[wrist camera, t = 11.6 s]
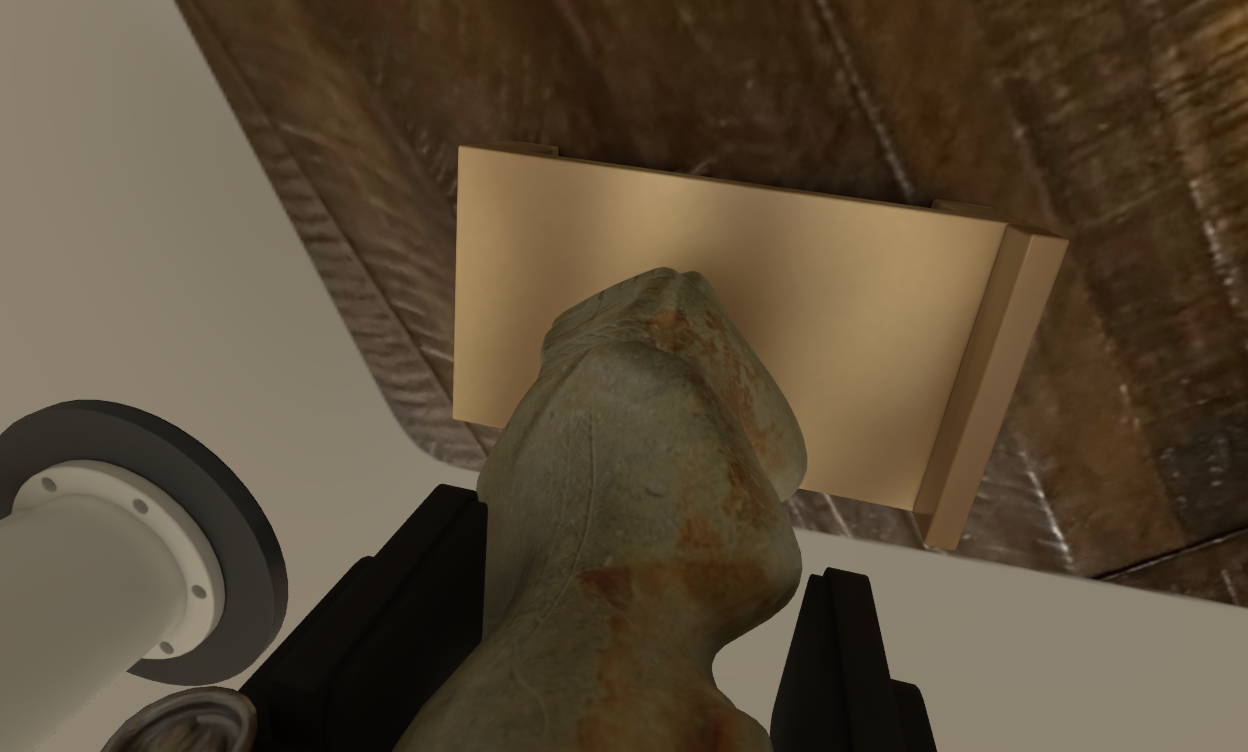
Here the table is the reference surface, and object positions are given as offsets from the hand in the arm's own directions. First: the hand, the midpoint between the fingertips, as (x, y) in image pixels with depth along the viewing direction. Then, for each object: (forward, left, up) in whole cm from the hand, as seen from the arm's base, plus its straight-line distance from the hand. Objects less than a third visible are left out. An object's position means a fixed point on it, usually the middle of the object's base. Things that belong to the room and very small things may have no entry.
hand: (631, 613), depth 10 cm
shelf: (0, 0, -19) cm, 19 cm away
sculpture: (0, 0, -10) cm, 10 cm away
